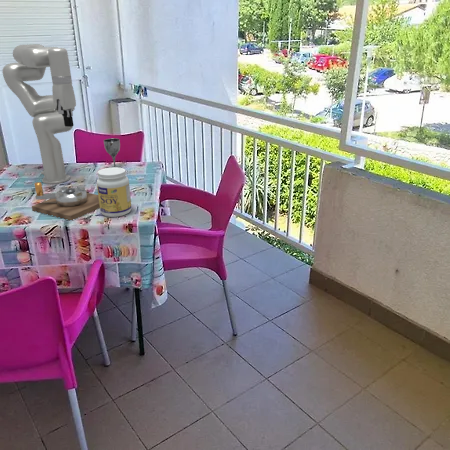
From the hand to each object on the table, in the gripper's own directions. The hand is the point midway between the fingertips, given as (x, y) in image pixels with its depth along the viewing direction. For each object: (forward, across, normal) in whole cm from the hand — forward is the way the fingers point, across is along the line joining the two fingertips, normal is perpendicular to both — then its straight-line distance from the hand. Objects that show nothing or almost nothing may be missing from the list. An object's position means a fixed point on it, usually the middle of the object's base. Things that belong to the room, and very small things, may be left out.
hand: (69, 126), depth 184 cm
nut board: (+29, +18, +7) cm, 35 cm away
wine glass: (+29, -35, +1) cm, 46 cm away
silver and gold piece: (+27, +19, +3) cm, 33 cm away
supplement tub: (+29, +20, +27) cm, 45 cm away
